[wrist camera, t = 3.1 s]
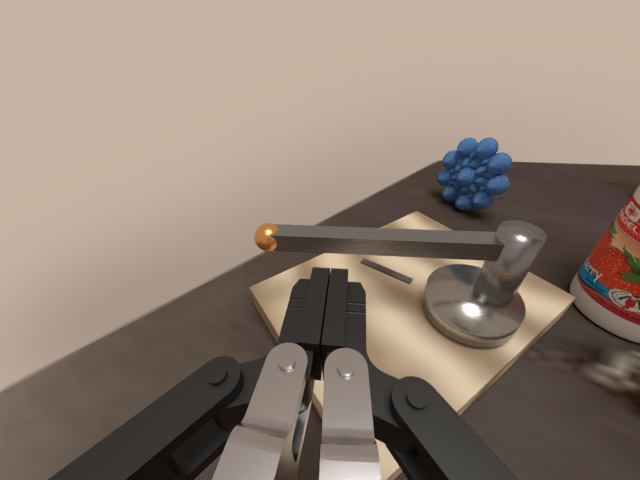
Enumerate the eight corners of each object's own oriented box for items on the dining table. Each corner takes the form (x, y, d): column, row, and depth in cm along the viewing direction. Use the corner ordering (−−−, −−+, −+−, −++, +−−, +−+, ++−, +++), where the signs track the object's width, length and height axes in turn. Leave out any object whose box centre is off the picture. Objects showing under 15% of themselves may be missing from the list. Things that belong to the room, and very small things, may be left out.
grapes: (510, 219, 43) (545, 141, 36) (479, 231, 41) (509, 151, 34) (452, 189, 52) (471, 121, 45) (424, 198, 50) (438, 128, 42)
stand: (413, 227, 43) (417, 209, 41) (561, 316, 29) (577, 296, 27) (254, 305, 32) (249, 286, 30) (370, 502, 19) (374, 490, 17)
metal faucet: (496, 281, 29) (533, 204, 23) (532, 353, 23) (595, 271, 17) (278, 269, 32) (265, 198, 26) (257, 330, 26) (234, 253, 20)
